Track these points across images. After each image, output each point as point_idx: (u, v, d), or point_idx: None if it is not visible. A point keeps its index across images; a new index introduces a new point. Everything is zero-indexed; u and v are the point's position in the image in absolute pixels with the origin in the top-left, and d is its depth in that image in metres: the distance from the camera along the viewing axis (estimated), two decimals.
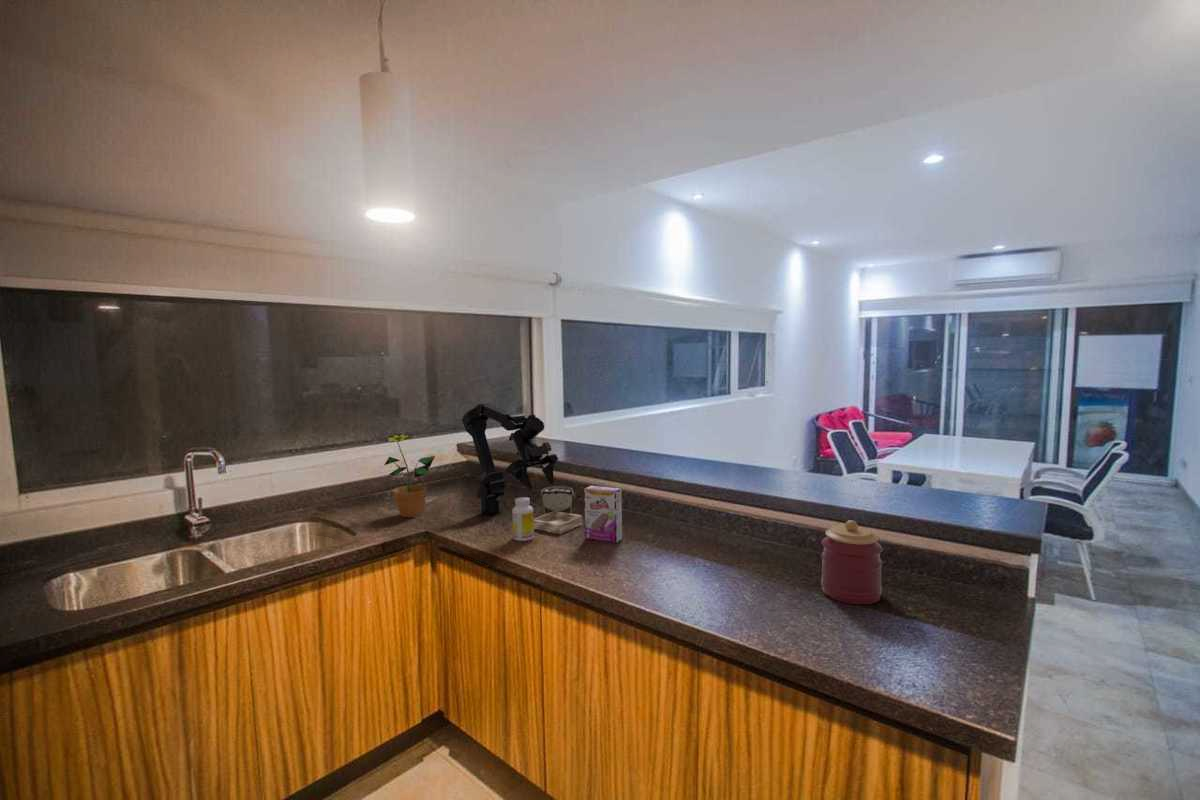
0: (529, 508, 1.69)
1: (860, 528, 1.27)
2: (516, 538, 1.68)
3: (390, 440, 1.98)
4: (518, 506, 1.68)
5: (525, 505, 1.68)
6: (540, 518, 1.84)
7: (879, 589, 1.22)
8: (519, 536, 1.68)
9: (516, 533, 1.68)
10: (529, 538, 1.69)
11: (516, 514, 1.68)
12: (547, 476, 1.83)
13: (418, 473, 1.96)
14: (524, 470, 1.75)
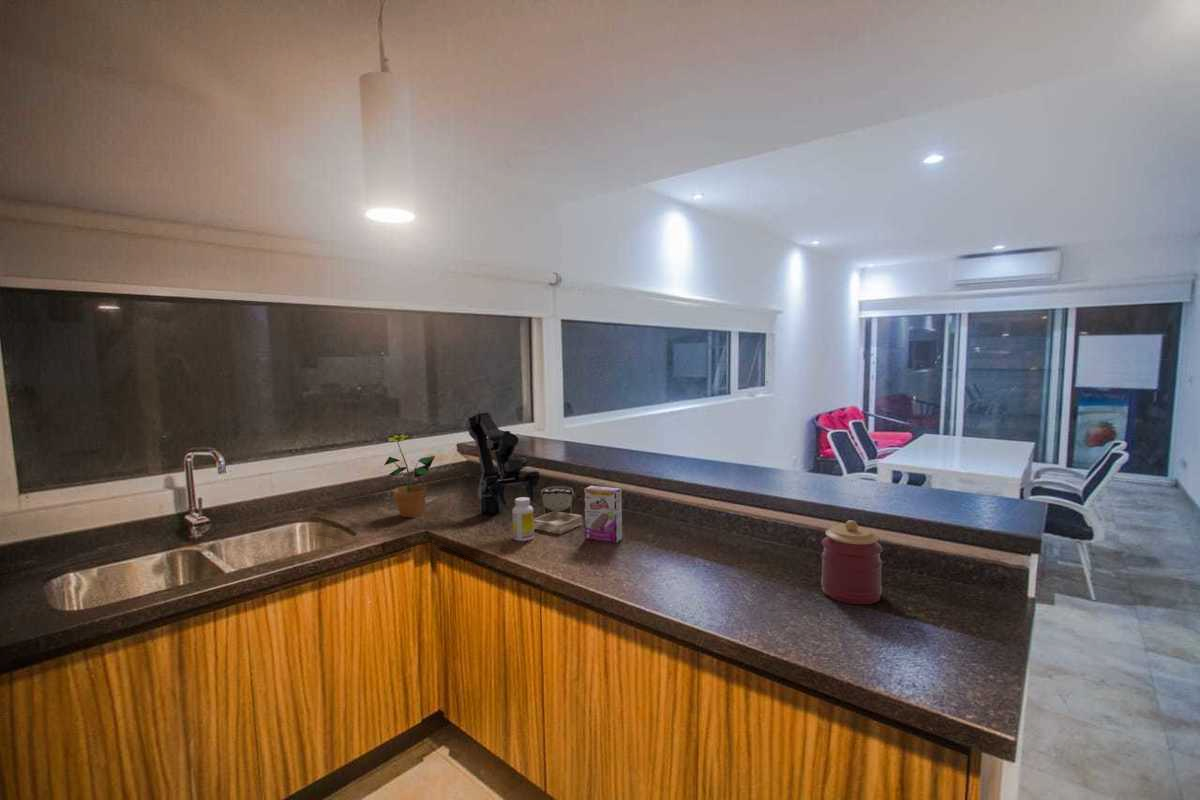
0: (529, 508, 1.69)
1: (860, 528, 1.27)
2: (516, 538, 1.68)
3: (390, 440, 1.98)
4: (518, 506, 1.68)
5: (525, 505, 1.68)
6: (540, 518, 1.84)
7: (879, 589, 1.22)
8: (519, 536, 1.68)
9: (516, 533, 1.68)
10: (529, 538, 1.69)
11: (516, 514, 1.68)
12: (528, 493, 1.78)
13: (418, 473, 1.96)
14: (496, 485, 1.73)
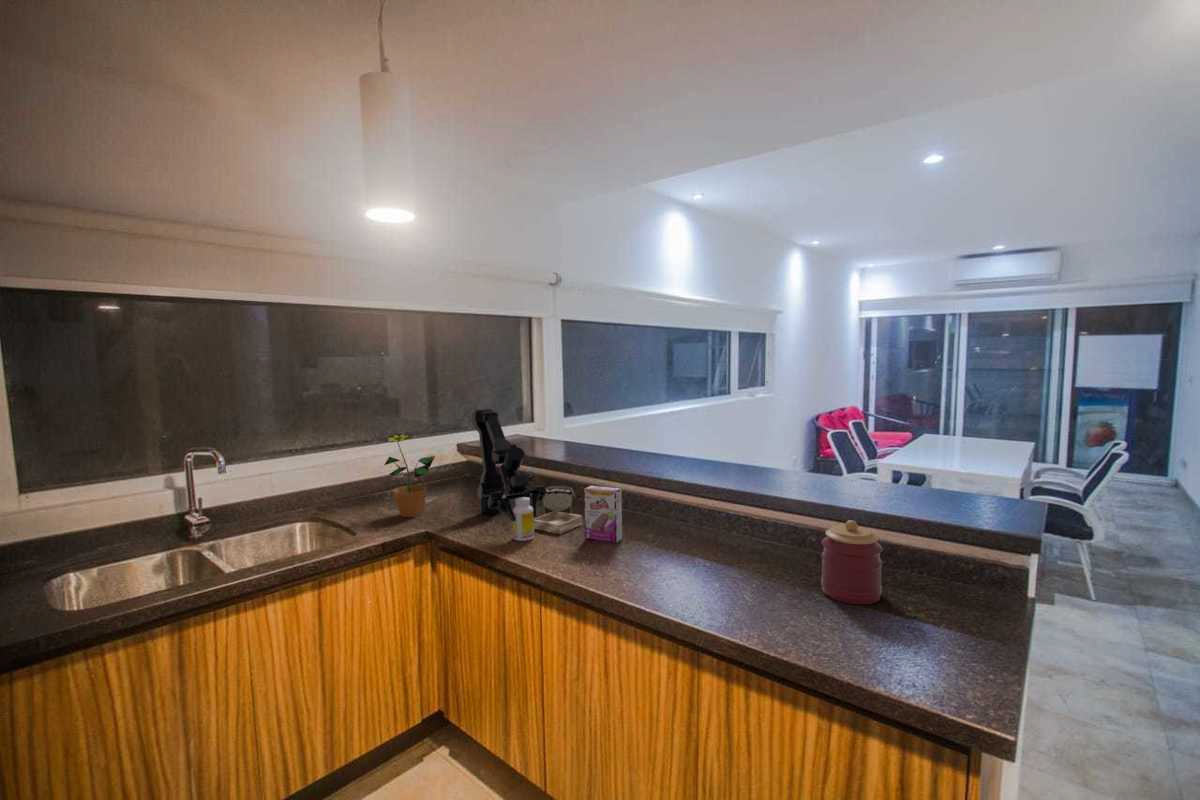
0: (529, 508, 1.69)
1: (860, 528, 1.27)
2: (516, 538, 1.68)
3: (390, 440, 1.98)
4: (518, 506, 1.68)
5: (525, 505, 1.68)
6: (540, 518, 1.84)
7: (879, 589, 1.22)
8: (519, 536, 1.68)
9: (516, 533, 1.68)
10: (529, 538, 1.69)
11: (516, 514, 1.68)
12: None
13: (418, 473, 1.96)
14: (506, 500, 1.69)
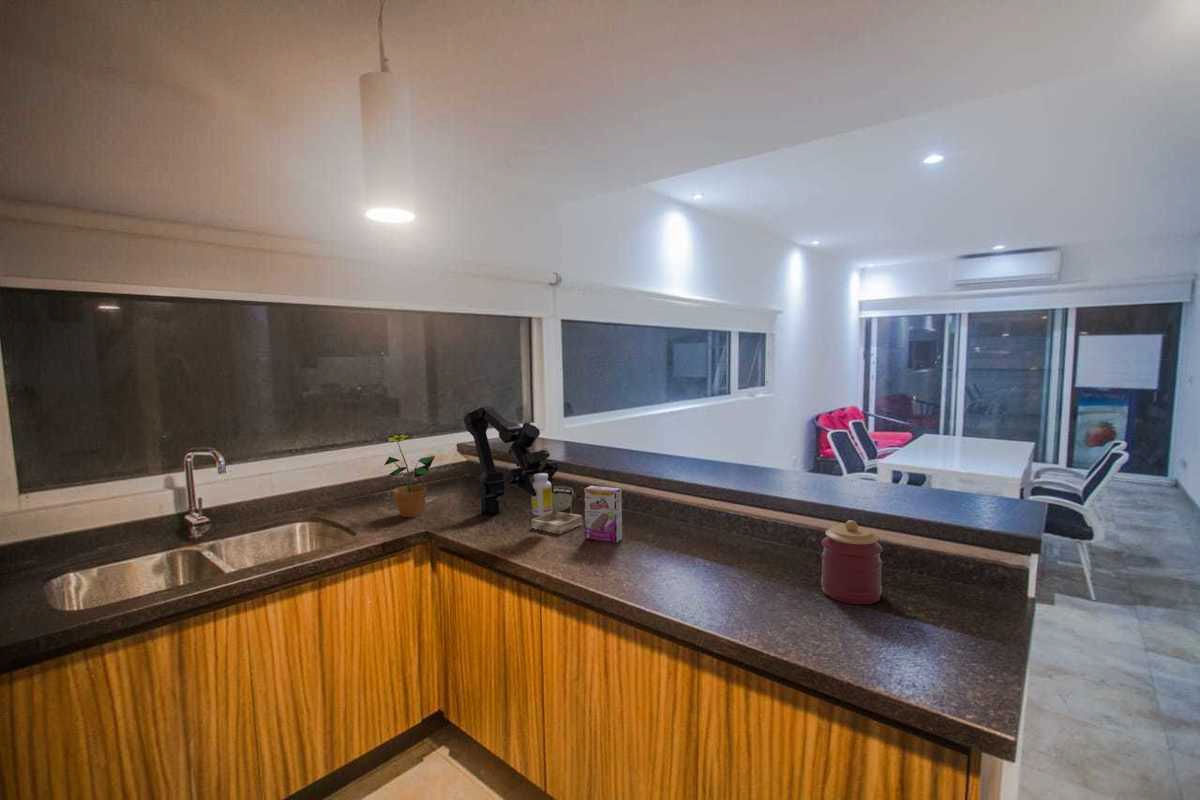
0: (548, 483, 1.74)
1: (860, 528, 1.27)
2: (537, 513, 1.73)
3: (390, 440, 1.98)
4: (538, 481, 1.73)
5: (544, 480, 1.74)
6: (540, 518, 1.84)
7: (879, 589, 1.22)
8: (540, 511, 1.73)
9: (537, 508, 1.73)
10: (549, 512, 1.74)
11: (537, 489, 1.72)
12: None
13: (418, 473, 1.96)
14: (526, 476, 1.73)
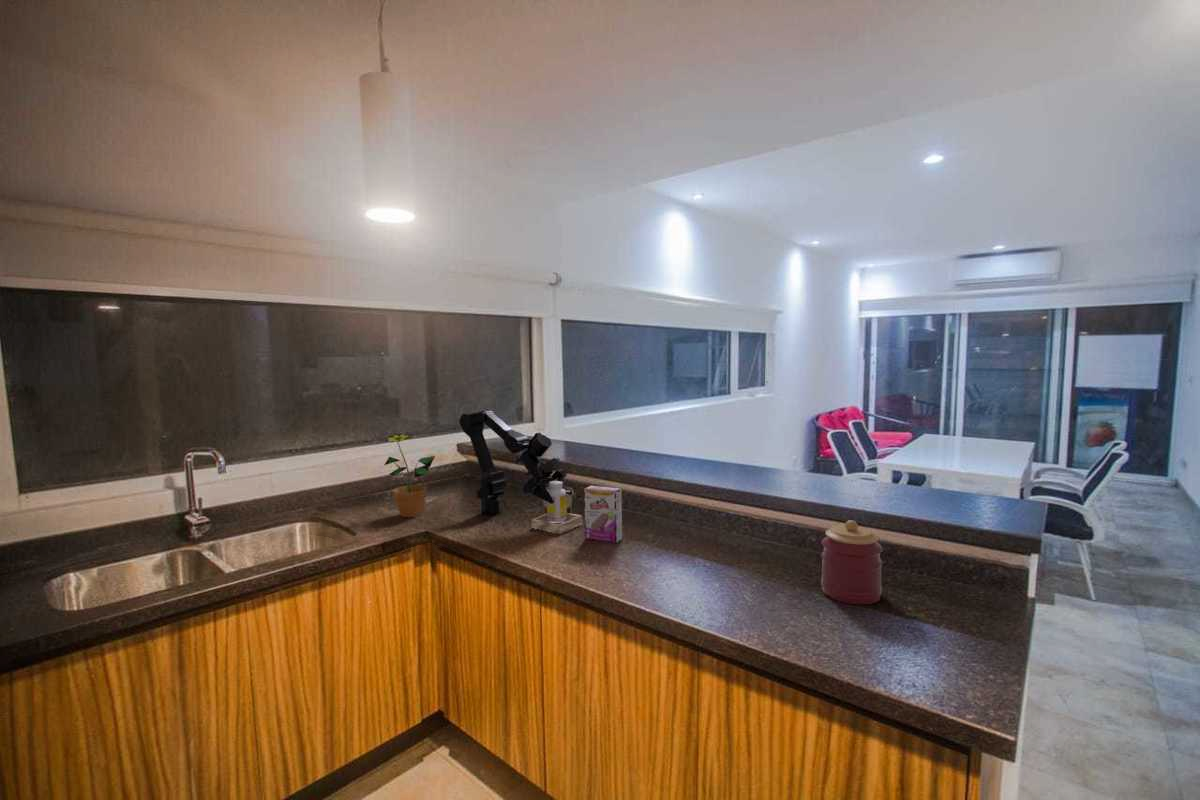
0: (564, 490, 1.82)
1: (860, 528, 1.27)
2: (554, 519, 1.79)
3: (390, 440, 1.98)
4: (555, 489, 1.80)
5: (560, 488, 1.81)
6: (540, 518, 1.84)
7: (879, 589, 1.22)
8: (558, 517, 1.79)
9: (554, 515, 1.79)
10: (565, 518, 1.81)
11: (554, 497, 1.79)
12: None
13: (418, 473, 1.96)
14: (543, 485, 1.78)
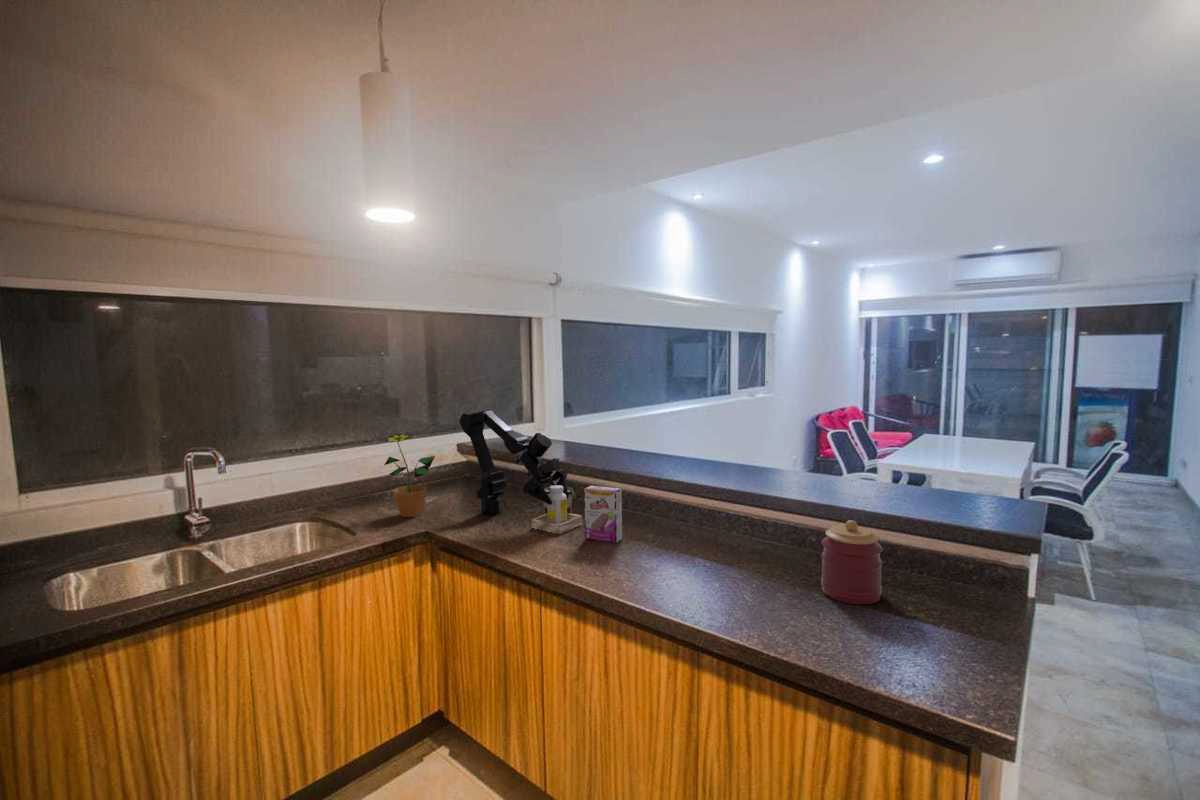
0: (564, 494, 1.82)
1: (860, 528, 1.27)
2: None
3: (390, 440, 1.98)
4: (555, 493, 1.80)
5: (561, 492, 1.81)
6: (540, 518, 1.84)
7: (879, 589, 1.22)
8: (558, 521, 1.80)
9: (555, 519, 1.79)
10: None
11: (555, 501, 1.79)
12: None
13: (418, 473, 1.96)
14: (541, 486, 1.77)
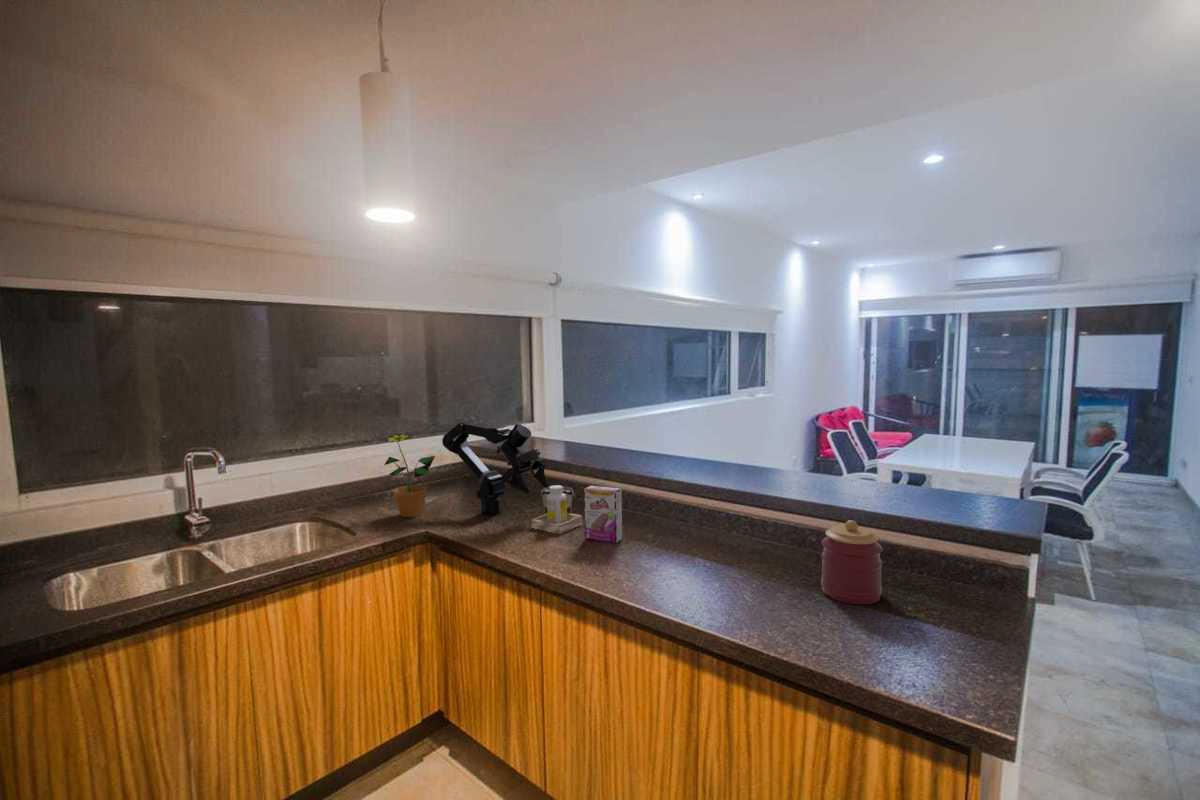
0: (564, 494, 1.82)
1: (860, 528, 1.27)
2: None
3: (390, 440, 1.98)
4: (555, 493, 1.80)
5: (561, 492, 1.81)
6: (540, 518, 1.84)
7: (879, 589, 1.22)
8: (558, 521, 1.80)
9: (555, 519, 1.79)
10: None
11: (555, 501, 1.79)
12: (540, 480, 1.92)
13: (418, 473, 1.96)
14: (519, 476, 1.83)
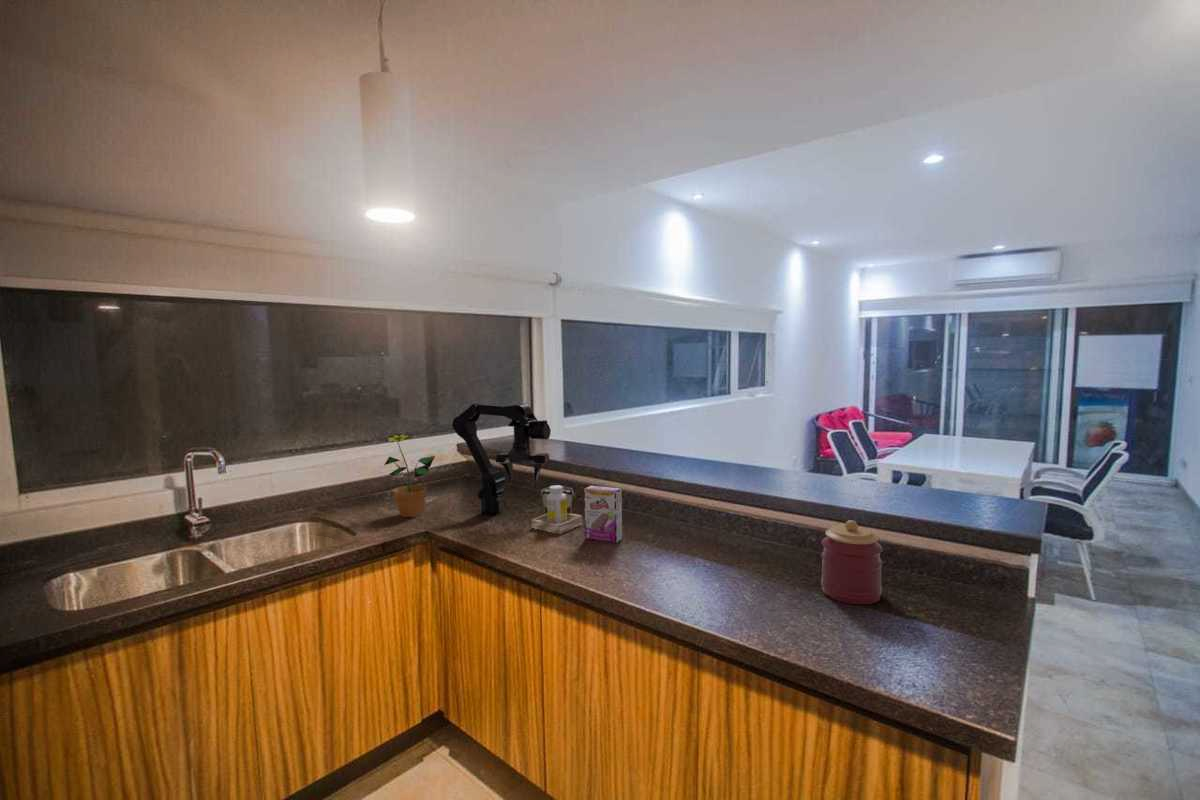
0: (564, 494, 1.82)
1: (860, 528, 1.27)
2: None
3: (390, 440, 1.98)
4: (555, 493, 1.80)
5: (561, 492, 1.81)
6: (540, 518, 1.84)
7: (879, 589, 1.22)
8: (558, 521, 1.80)
9: (555, 519, 1.79)
10: None
11: (555, 501, 1.79)
12: None
13: (418, 473, 1.96)
14: (504, 465, 1.93)
